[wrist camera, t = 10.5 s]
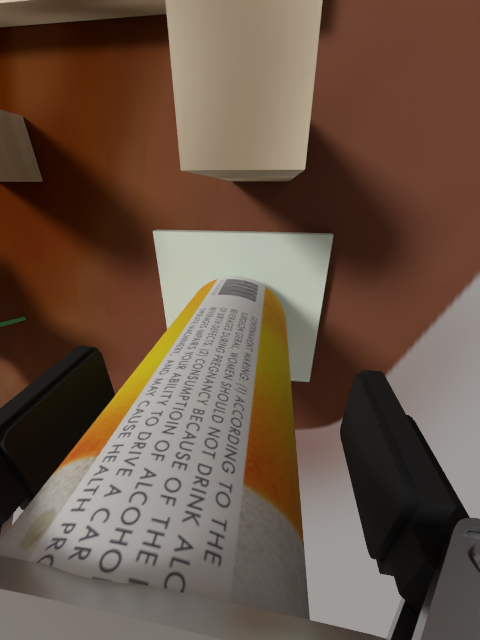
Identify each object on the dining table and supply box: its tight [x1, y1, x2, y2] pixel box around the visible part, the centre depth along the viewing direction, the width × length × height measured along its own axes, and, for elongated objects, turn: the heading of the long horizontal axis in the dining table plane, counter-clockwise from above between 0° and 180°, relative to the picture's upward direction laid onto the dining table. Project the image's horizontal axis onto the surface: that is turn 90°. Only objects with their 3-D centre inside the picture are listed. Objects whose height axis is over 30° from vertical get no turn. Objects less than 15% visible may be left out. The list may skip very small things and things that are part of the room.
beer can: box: [0, 276, 310, 620], centre depth 10 cm, size 6×6×15 cm
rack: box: [0, 0, 323, 182], centre depth 9 cm, size 17×8×8 cm, turn 90°
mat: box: [153, 230, 333, 382], centre depth 16 cm, size 10×10×1 cm
